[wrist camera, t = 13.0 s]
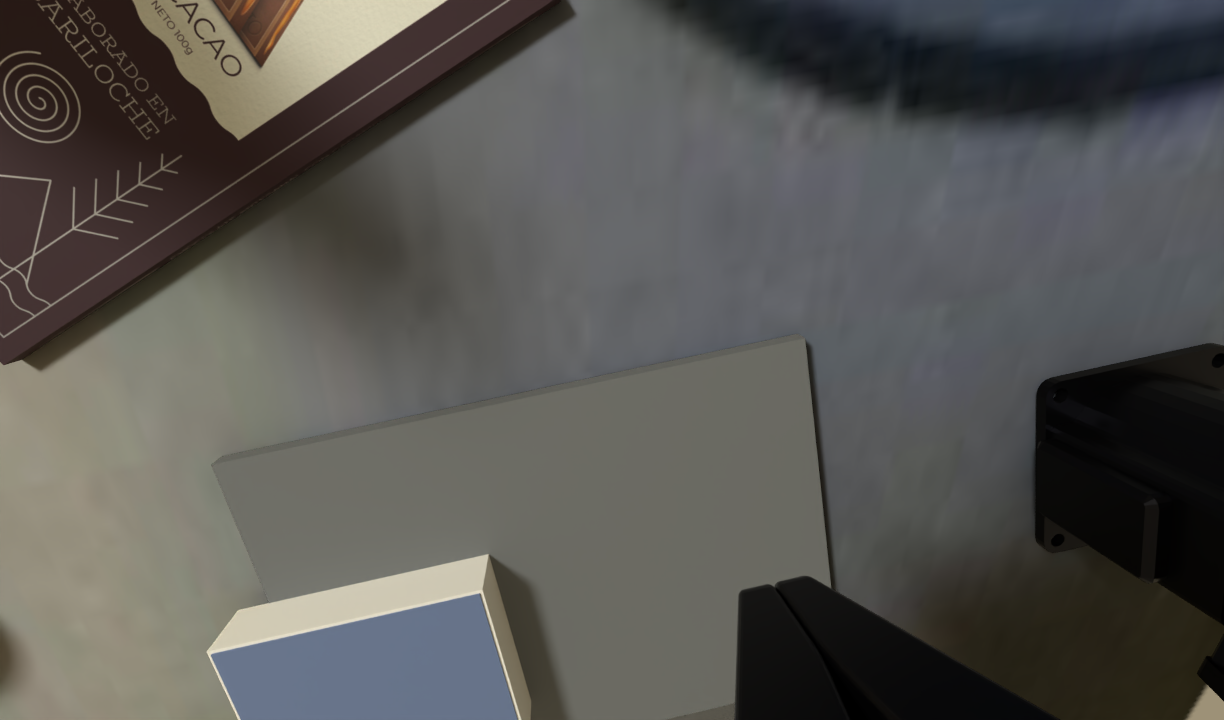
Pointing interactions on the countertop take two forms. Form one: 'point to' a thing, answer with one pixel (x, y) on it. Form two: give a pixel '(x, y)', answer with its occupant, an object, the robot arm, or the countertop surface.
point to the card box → (378, 651)
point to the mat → (571, 518)
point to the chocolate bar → (187, 124)
